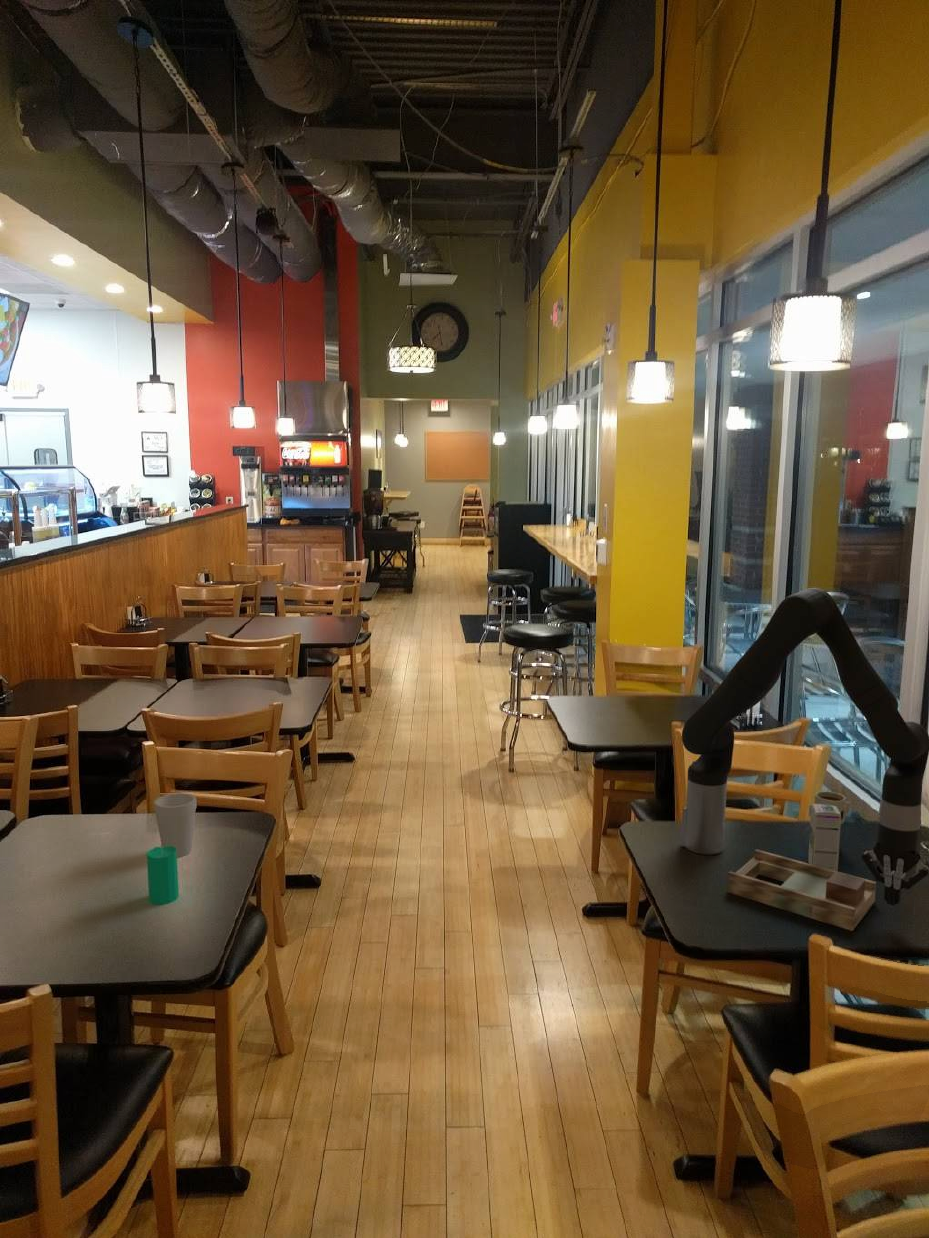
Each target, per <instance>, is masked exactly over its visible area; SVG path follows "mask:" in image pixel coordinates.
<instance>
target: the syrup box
mask: <svg viewBox="0 0 929 1238" xmlns="http://www.w3.org/2000/svg"><path fill="white" fill-rule="evenodd" d="M811 804H812V805H811ZM811 804H810V805H811V817H810V819H809V820H810V824H809V840H808V841H809V842H808V857H807V858H808V859H807V863H809V864H812V865H816V866H819V867H823V868H827V869H830V870H834V871H838V870H839V857H840V855H839V854H840V848H839V843H840V844H841V825H842V824H841V814H840V812H839V810H838V808H837V806H835V805H829V804H814V803H811ZM840 824H841V825H840ZM838 872H839V871H838Z"/></svg>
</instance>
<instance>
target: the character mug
mask: <svg viewBox="0 0 929 1238" xmlns="http://www.w3.org/2000/svg"><path fill="white" fill-rule="evenodd" d="M812 804H829V805H835V806H837V808H838V810H839V812H840V814H841V824H840V826H841V825H842V824H843V823H844V822H845V820H846V815H849V814H850V809H851V803H850V801H847V799H846V795H844V794H842V793H838V792H834V791H827V790H826V791H825V790H821V791H817V792H815V793H814V801H813V803H811V804H809V806H808V816H809V818H811V805H812ZM840 848H841V842H840V843H839V849H840Z"/></svg>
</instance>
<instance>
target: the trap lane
mask: <svg viewBox="0 0 929 1238" xmlns="http://www.w3.org/2000/svg"><path fill="white" fill-rule="evenodd" d="M753 853H754V855H753V857H752V858H751V859H750V860H749V861H747V862H746V863H745V864H744V865H743V866H742V867H740V868H739V869H738V870H736V872H735V871H731V870H729V871H728V877H727V889H726V890H727V891H726V893H729V894H732V895H735V896H739V897H742V898H745V899H749V900H752V901H754V902H758V903H762V904H765V905H768V906H771V907H774V908H777V909H780V910H783V911H787V912H789V913H794V914H796V915H800V916H802V917H806V918H808V919H813V920H816V921H820V922H823V923H825V924H829V925H830V926H831V925H833V926H835V927H839V928H842V929H845V930H847V931H851V932H853V931H854V930H855V929H856V927H857V926H858V924H859V923H860V922H861V920H863V918H864V916H865V915H866V914H867V913H868V911H869V910H870V909H871V907H872V906H873V905H874V903H875V902H876V901H875V900H876V892H877V891H876V890H877V881H874V880H871V879H866V878H863V877H860V876H855V875H852V874H848V873H844V872H841V871H834V870H830V869H827V868H823V867H819V866H816V865H812V864H809V862H804V861H801V860H797V859H793V858H790V857H787V856H784V855H780V854H776V853H775V854H774V853H772V852H768V851H764V850H761V849H755V850H754V852H753ZM835 872H838V873H842V874H846V875H849V876H853V877H857V878H860V879H864V880H865V891H864V896H863V898H862V899H861V900H860V901H859V903H858V904H857V905H856V906H853V905H850V904H846V903H843V902H840V901H836V900H833V899H829V898H826V897H825V896H826V883H827V881H828V879H829V878H830V877H831V876H832V875H833V874H834V873H835ZM758 876H762V877H767V878H768V879H773V880H776V881H780V882H783V883H782V884H781V885H778V884H776V883H772V882H769V881H765V880H761V879H758V878H757V877H758Z"/></svg>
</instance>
